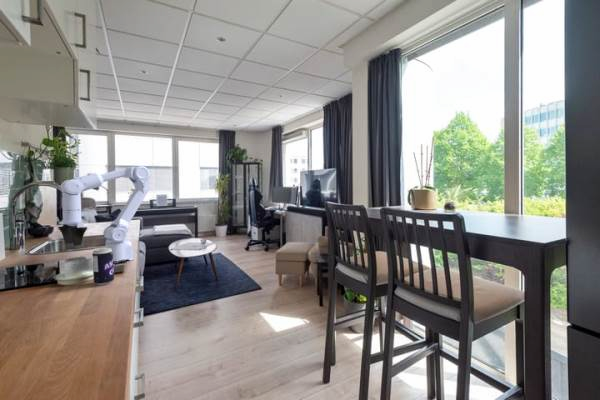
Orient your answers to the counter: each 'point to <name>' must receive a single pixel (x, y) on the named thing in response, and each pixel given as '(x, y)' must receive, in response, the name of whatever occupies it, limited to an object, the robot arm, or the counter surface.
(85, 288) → the counter surface
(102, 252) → the beverage can
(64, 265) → the housing
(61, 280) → the stand
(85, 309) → the counter surface
